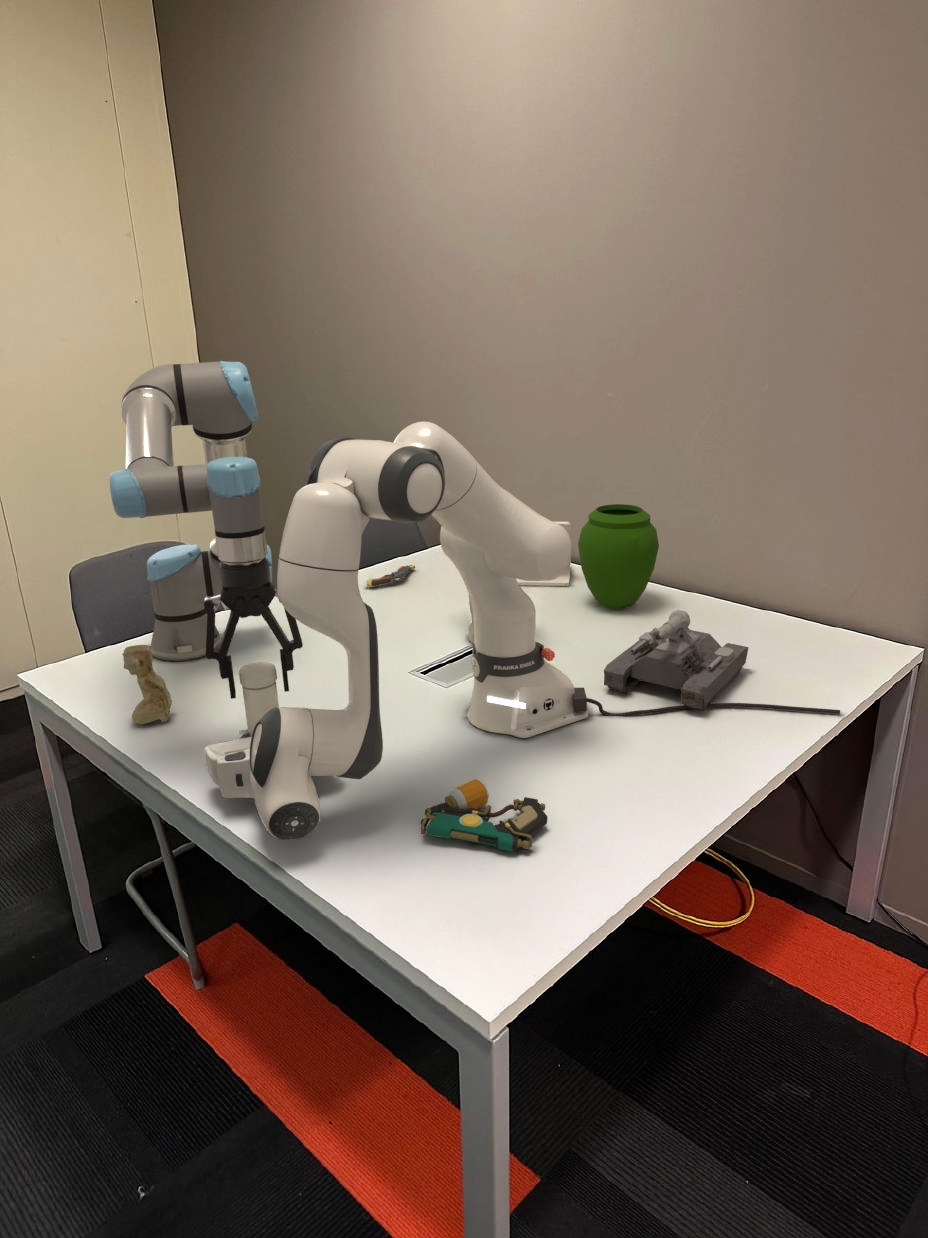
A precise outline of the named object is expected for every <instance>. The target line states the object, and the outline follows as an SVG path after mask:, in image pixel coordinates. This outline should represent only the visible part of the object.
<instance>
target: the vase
mask: <svg viewBox="0 0 928 1238" xmlns="http://www.w3.org/2000/svg"><path fill="white" fill-rule="evenodd" d="M587 516H588V517H587V518H588V521H587V522H586V523H585V524H584V525H583V526H582V527H581V529H580V534H579V538H578V541H577V546H578V554H579V562H580V569H581V571H582V574H583V577H584V580H585V583H586V585H587V588H588V590H589V591H590V594H592V597H593V598H594V600H595V601H596V602H597V603H598V604H599V605H600V606H602V607H604V608H606V609H609V610H625V609H628V608H630V607H632V606H634V604H636V602H638V601H639V599H640V597H641V596H642V595H643V593H644V592H645V590H646V588H647V586H648V584H649V581H650V579H651V577H652V574H653V572H654V570H655V566H656V562H657V557H658V552H659V548H660V544H659V543H660V542H659V537H658V531H657V528H656V527H655V526H654V524H653V523H652V522H651V515H650V514H649V512H647V511H645V510H644V509H643V508H642V507H641V506H638V505H633V504H622V503H621V504H619V503H616V504H615V503H614V504H604V505H601V506H598V507H597V508H595V509H594V510H592V511H591V512H590V513H589V514H588V515H587Z"/></svg>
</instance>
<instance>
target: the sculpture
mask: <svg viewBox="0 0 928 1238" xmlns="http://www.w3.org/2000/svg"><path fill="white" fill-rule="evenodd" d="M151 649H152V647H151V645H150V644H149V645H148V644H135V645H129V646H126V647H125V648H124V649H123V652H122V656H123V658H122V659H123V669H124V670H127V671H128V673H129V674H130V675H131V676H136V677H137V680H136V682H137V684H138V686H139V689H140V691H141V694H142V697H143V699H142V700H141V701H139V702H138V704H136V706H135V707H134V710H133V712H132V713H131V720H132V721H133V723H135V724H137V725H138V724H139V725H144V724H145V725H146V724H149V723H151V722H154V721H158V720H160V722H161V723H165V722H167V721H168V719H169V718H170V715H171V708H172V705H173V700H172V696H171V693H170V691H169V689H168V687H167V684H166V682H165V680H164V679H163V678H162V676H160V675H159V674H158V673H157V672H156V671H155V670H154V666H153V654H152V650H151Z"/></svg>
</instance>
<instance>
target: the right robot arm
mask: <svg viewBox="0 0 928 1238" xmlns="http://www.w3.org/2000/svg"><path fill="white" fill-rule="evenodd" d="M506 490H507V489H504V488H503V487H501V486H500V485H499V484H498V483H497V482H496V481H495V480H494V479H493V478H492V477H491V475H490V474H489V473H488V472H487V471H486V470H485V469H484V468H483V467H482V465H481V464H480V463H479V462H478V461H477V460H476V458H475V457H474V456H473V455H472V453H471V452H469V450H468V449H466V447H465V446H464V445H463V444H461V442H460V441H459V440H457V438H455V437H454V436H453V435H452V434H451V433H449V432H448V431H446V430H445V429H444V428H442V427H440V426H439V425H438V424H437V423H434V422H432V421H431V422H430V421H417V422H414V423H411V424H409V425H407V426H406V427H404V428H403V429H402V430H401V431H400V432H399V433H398V434H397V436H396V437H395V439H394V440H393V442H392V441H387V440H383V439H381V440H380V439H356V438H353V437H340V438H335V439H331V440H329V441H327V442H325V443H323V444H322V445H321V446H320V447H319V448H318V449H317V451H316V453H315V455H314V457H313V458H312V461H311V463H310V466H309V470H308V476H307V478H306V485H305V486H303V487H301V488H300V489H298V490H297V491H296V493H295V495H294V496H293V498H292V501H291V504H290V507H289V510H288V513H287V517H286V520H285V524H284V528H283V532H282V537H281V541H280V547H279V554H278V560H277V569H276V570H277V571H276V589H277V594H278V597H279V599H280V601H281V603H280V604H281V605H282V607H283V609H284V608H285V609H286V610H287V611H288V613H289V614H290V615H292V616H293V617H294V618H295V619H296V621H297V622H300V623H301V624H302V625H304V626H306V627H308V628H309V629H311V630H313V631H316V632H318V633H319V634H322V635H324V636H326V637H328V638H330V639H332V640H334V641H335V642H337V643H338V644H340V645H341V647H342V648H343V649H344V650H345V653H346V658H347V683H348V704H347V706H346V707H345V708H342V709H327V708H324V709H323V708H309V707H298V706H297V707H295V706H279V707H274V708H273V709H271V710H270V711H268V712H267V713H266V714H265V715H264V716H263V717H262V718H261V719H260V720H259V722H258V723H257V724H256V726H255V728H254V730H253V734H252V737H249V732H248V728H247V729H241V730H238V733H239V734H238V735H237V736H236V737H235V738H234V739H232V740H226V741H220V742H215V743H210V744H208V745H207V746H205V748H204V757H205V763H206V768H207V772H208V774H209V777H210V779H211V780H212V782H213V783H214V784H215V785H216V786H218V787H219V789H220V793H221V797H223V798H225V799H253V800H254V804H255V807H256V810H257V813H258V816H259V818H260V820H261V822H262V824H263V826H264V828H265V829H266V831H267V832H268V833H269V834H270V835H271V836H273V837H274V838H276V839H279V840H283V841H293V840H299V839H302V838H305V837H307V836H309V835H310V834H311V833H313V832H314V831H315V830H316V829H317V827H318V826H319V824H320V821H321V804H320V799H319V795H318V792H317V788H316V785H315V782H314V780H313V778H312V777H313V776H314V777H316V776H317V777H321V776H322V777H337V778H344V779H354V780H361V779H363V778H364V777H366V776H368V774H371V772H372V771H374V770H375V768H377V766H378V765H379V764H380V763H381V761H382V757H383V751H384V740H383V731H382V730H383V729H382V721H381V708H380V707H381V706H380V705H381V704H380V669H379V668H380V666H379V665H380V663H379V661H380V660H379V641H378V639H379V638H378V637H379V636H378V628H377V620H376V616H375V614H374V610H373V608H372V607H371V606H370V605H369V604H367V603H366V602H364V601H363V600H364V599H363V598H362V595H361V591H360V587H359V569H360V563H361V554H362V553H361V551H362V536H363V533H364V532H365V531H364V530H365V529H366V528H367V525H368V524H369V523H370V522H371V519H375V520H384V521H385V520H386V521H393V522H395V523H399V524H416V523H421V522H423V521H425V520H427V519H428V518H429V517H430V516H431V517H433V519H434V520H435V521H436V522H437V523H438V524H439V525H440V531H439V543H440V546H441V549H442V552H443V554H445V556H446V557H447V558H448V559H449V560H450V561H451V563H453V565H454V566H455V568H456V569H457V571H458V573H459V574H460V576H461V579H462V581H463V583H464V585H465V588H466V591H467V594H468V598H469V597H470V600H471V604H472V610H473V621H474V640H475V644H473V645H472V655H471V668H472V676H473V687H472V688H473V689H472V694H471V699H470V700H471V701H470V705H469V708H468V712H467V720H468V721H469V723H470V724H472V725H473V726H474V727H476V728H478V729H479V730H481V731H486V732H489V733H496V734H504V735H510V736H513V737H517V738H520V739H528V738H531V737H535V736H536V735H537V736H538V735H540V734H542V733H545V732H549V731H551V730H555V729H557V728H560V727H564V726H567V725H569V724H573V723H575V722H578V721H581V720H585V719H587V718H588V717H589V708H588V704H589V703H590V704H593V705H595V706H596V707H598V711H599V713H600V714H602V715H603V716H607V717H631V716H638V715H649V714H657V713H663V712H671V711H678V710H689V709H692V708H691V707H688V706H685V705H683V704H680V705H671V706H665V707H659V708H651V709H650V708H649V709H639V710H632V711H631V710H630V711H626V712H620V713H619V712H618V713H617V712H615V713H613V712H608V711H607V710H604V708H603V704H602V703H601V702H600V701H598V700H596V699H592V698H589V697H587V694H586V689H585V687H574V684H573V682H572V680H571V679H570V677H569V676H568V675H567V674H566V673H565V672H564V671H562V670H561V669H559V668H558V667H556V666H555V665H553V664H552V663H550V662H552V661H553V660H554V658H555V657H556V653H555V652H554V650H552V649H551V648H550V647H545V646H544V644H542V643H540V642H538V641H536V625H537V624H536V622H537V621H536V620H537V619H536V614H537V613H536V607H535V603H534V601H533V600H532V598H531V597H530V596H529V595H528V593H526V592H525V591H524V590H523V589H522V587H521V585H519V584H518V582H517V580H516V578H517V579H521V580H525V581H551V580H554V579H556V578H558V577H559V576H560V575H561V574H562V573H563V572H564V570H565V569H566V567H567V566H568V563H569V561H570V558H571V557H572V550H573V549H572V547H573V546H572V541H571V536H570V537H569V534H568V532H567V531H566V529H565V528H564V527H562V526H561V525H559V524H556V523H555V522H556V521H552V520H550V519H548V518H547V517H545V516H543V515H541V514H540V513H538V512H537V511H535V510H534V509H533V508H531V507H530V506H528V505H527V504H526V503H524V502H523V501H521V500H520V499H518V498H517V497H516V496H514V494H512V493H511V492H510V493H511V494H512V495H511V494H510V493H508V492H507V491H508V490H507V491H506ZM571 559H572V558H571ZM279 599H278V600H279ZM285 609H284V610H285ZM706 708H753V709H754V708H755V709H769V710H770V709H771V710H782V711H783V710H784V711H795V712H807V713H820V714H821V713H822V714H835V715H840V714H841V709H833V708H832V709H831V708H817V707H805V706H791V705H780V704H767V703H749V702H748V703H747V702H711V703H709V704H708V706H707V707H706Z"/></svg>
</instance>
